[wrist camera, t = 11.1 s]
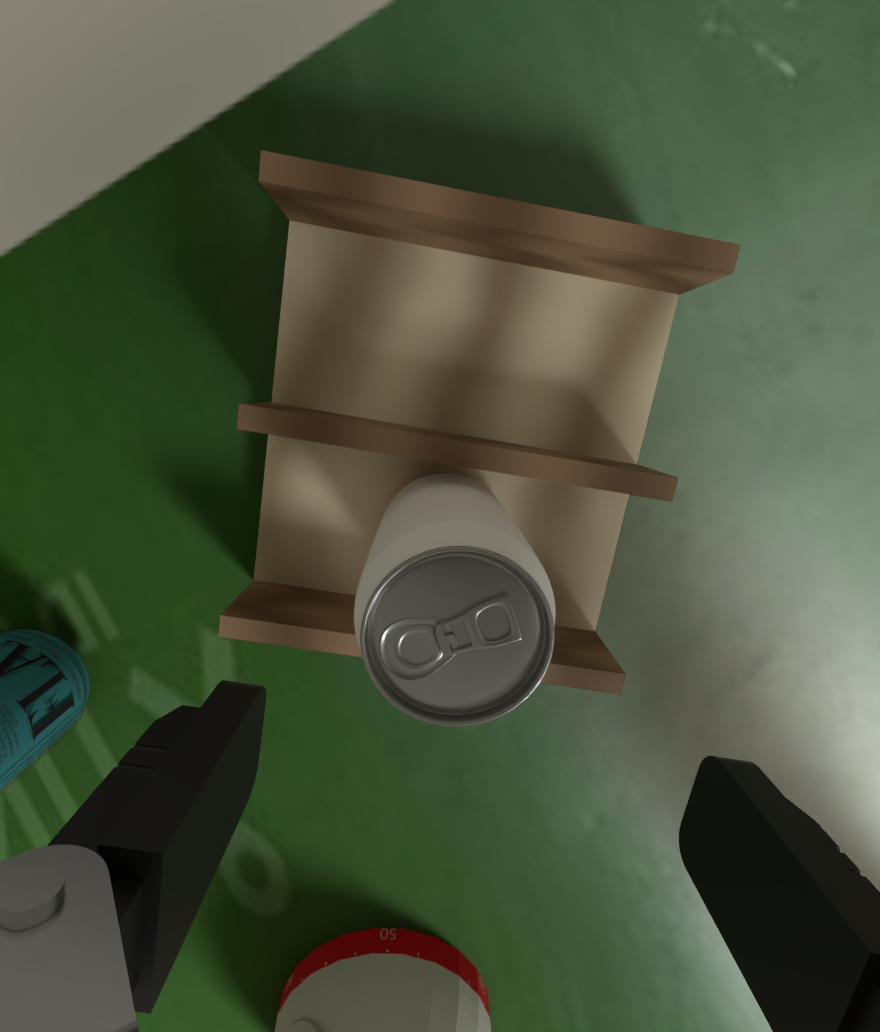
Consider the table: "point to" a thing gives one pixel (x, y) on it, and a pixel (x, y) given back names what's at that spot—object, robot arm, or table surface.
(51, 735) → the beverage bottle
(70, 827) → the robot arm
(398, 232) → the rack
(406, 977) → the kitchen timer
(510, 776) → the table surface
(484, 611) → the can
